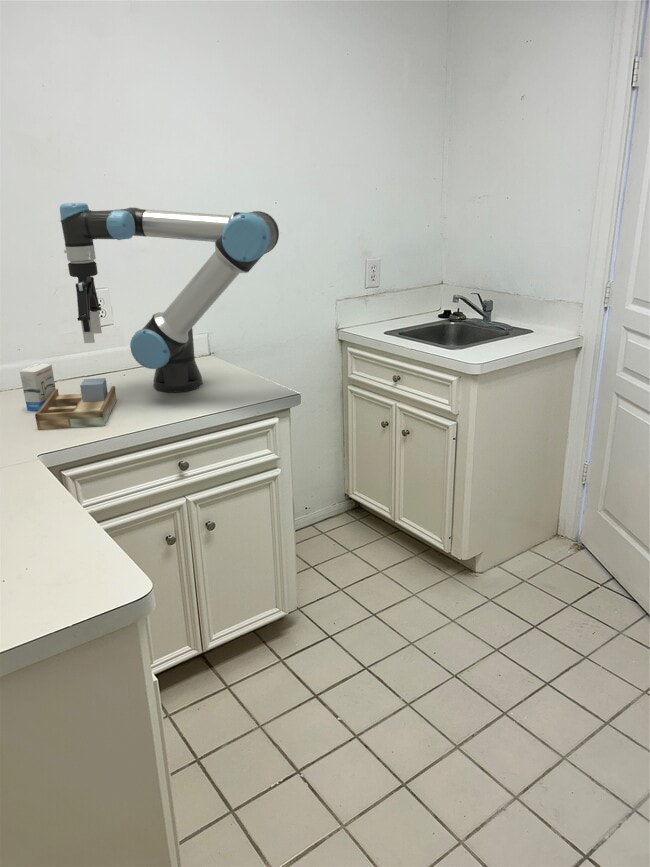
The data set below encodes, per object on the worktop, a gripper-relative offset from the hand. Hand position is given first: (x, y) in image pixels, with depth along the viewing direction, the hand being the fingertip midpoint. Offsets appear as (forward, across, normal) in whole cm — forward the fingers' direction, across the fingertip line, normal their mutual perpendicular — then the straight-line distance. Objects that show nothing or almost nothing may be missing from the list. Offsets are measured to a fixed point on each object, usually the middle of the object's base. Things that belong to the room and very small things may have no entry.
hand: (93, 337), depth 188 cm
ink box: (+18, +6, -16) cm, 25 cm away
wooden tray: (+18, +15, -4) cm, 24 cm away
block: (+16, +9, 0) cm, 18 cm away
